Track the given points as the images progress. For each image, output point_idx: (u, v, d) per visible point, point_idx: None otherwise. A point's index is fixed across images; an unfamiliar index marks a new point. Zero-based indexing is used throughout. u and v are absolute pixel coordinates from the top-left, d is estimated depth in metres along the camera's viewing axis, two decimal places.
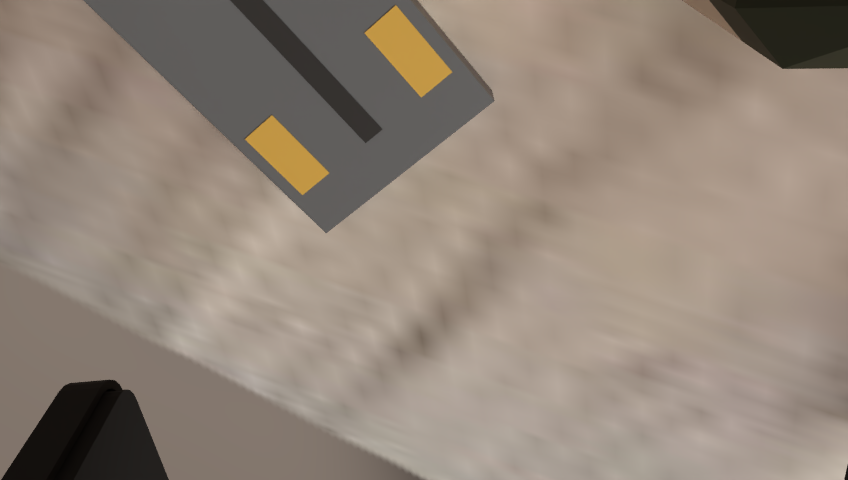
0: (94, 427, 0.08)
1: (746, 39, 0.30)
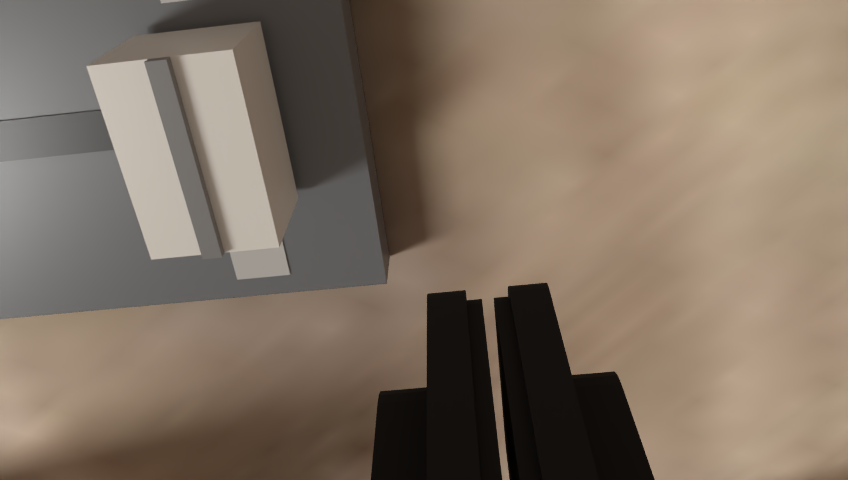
0: (476, 327, 0.09)
1: None
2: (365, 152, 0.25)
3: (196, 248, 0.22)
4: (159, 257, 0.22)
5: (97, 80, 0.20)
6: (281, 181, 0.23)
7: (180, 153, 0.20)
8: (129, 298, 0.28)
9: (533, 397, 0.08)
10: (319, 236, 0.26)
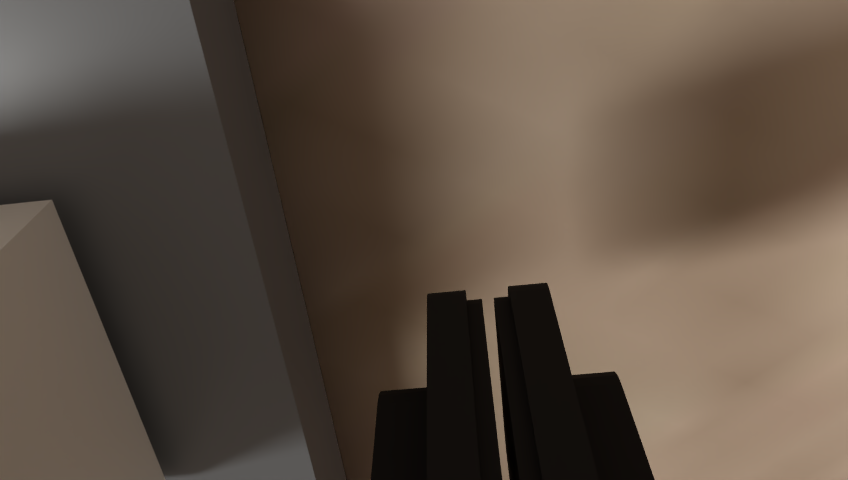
0: (476, 327, 0.09)
1: None
2: (300, 416, 0.13)
3: None
4: None
5: None
6: None
7: None
8: None
9: (533, 397, 0.08)
10: None
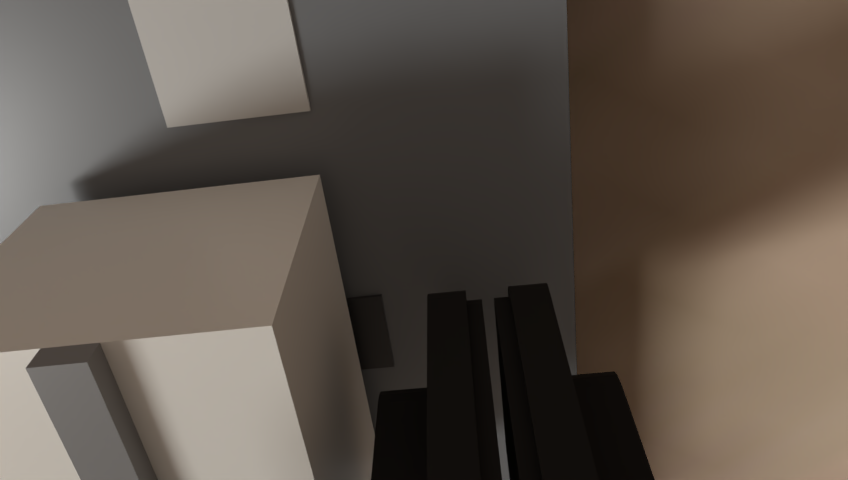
0: (476, 327, 0.09)
1: None
2: None
3: None
4: None
5: None
6: None
7: None
8: None
9: (533, 397, 0.08)
10: None
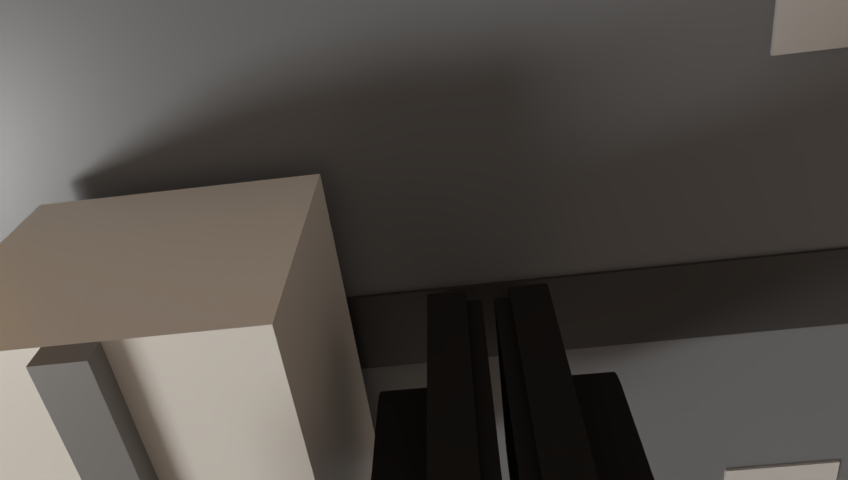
0: (476, 327, 0.09)
1: None
2: None
3: None
4: None
5: None
6: None
7: None
8: None
9: (533, 397, 0.08)
10: None
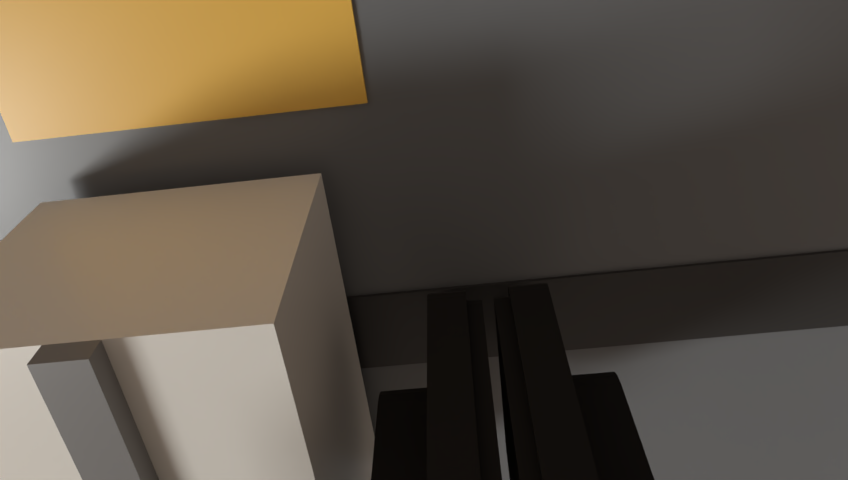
0: (476, 327, 0.09)
1: None
2: None
3: None
4: None
5: None
6: None
7: None
8: None
9: (533, 397, 0.08)
10: None
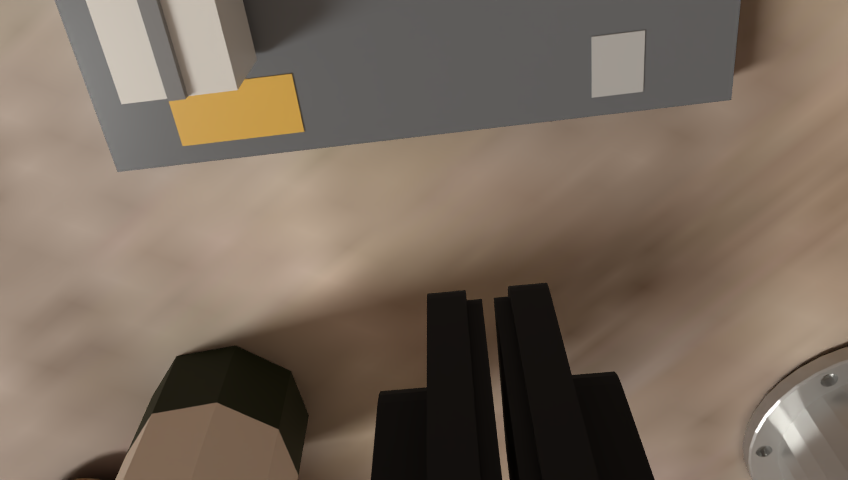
0: (476, 327, 0.09)
1: None
2: None
3: (162, 92, 0.24)
4: (128, 102, 0.25)
5: None
6: (238, 35, 0.25)
7: None
8: (483, 119, 0.29)
9: (533, 397, 0.08)
10: (680, 51, 0.28)
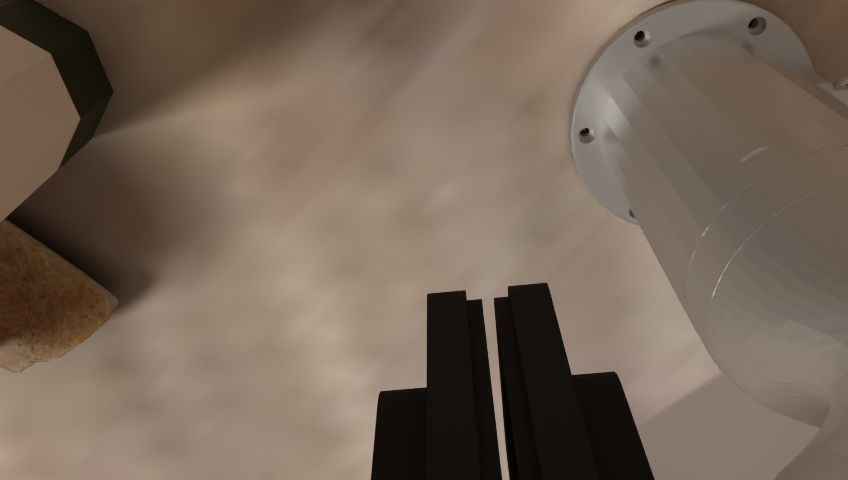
0: (476, 327, 0.09)
1: None
2: None
3: None
4: None
5: None
6: None
7: None
8: None
9: (533, 397, 0.08)
10: None
